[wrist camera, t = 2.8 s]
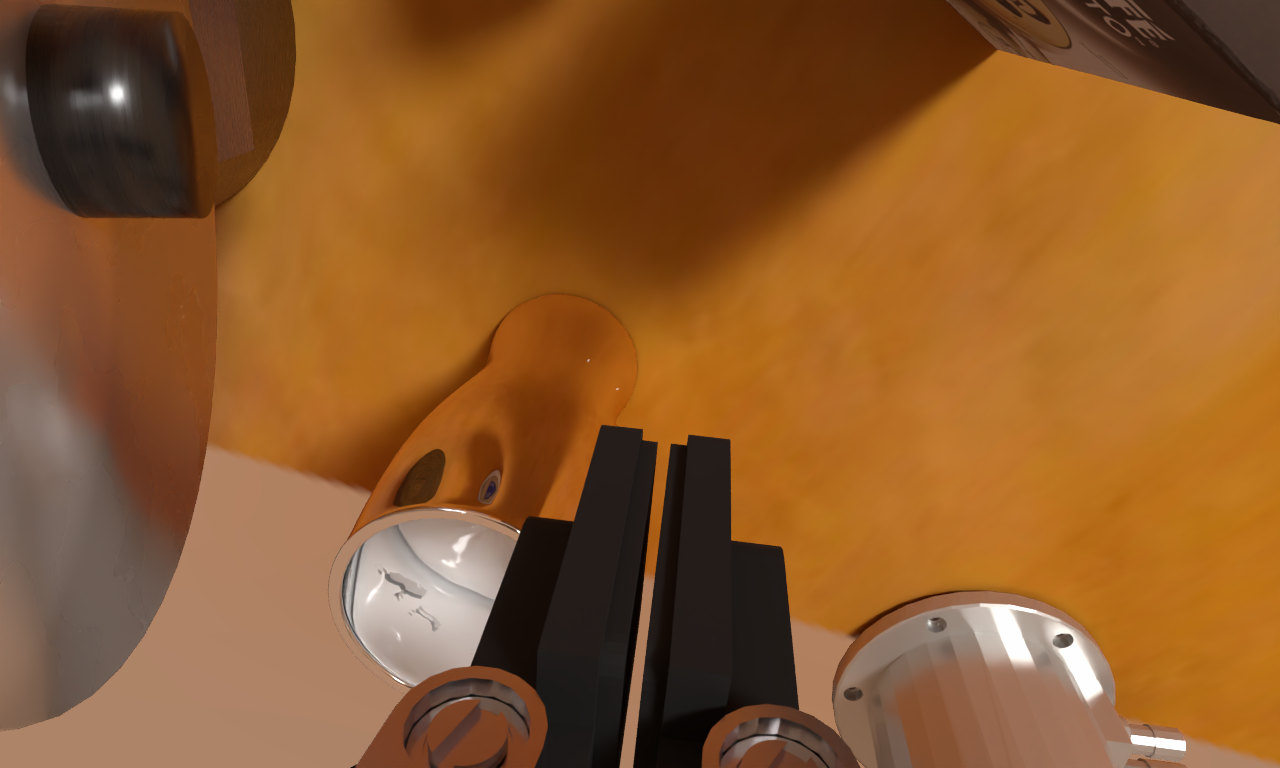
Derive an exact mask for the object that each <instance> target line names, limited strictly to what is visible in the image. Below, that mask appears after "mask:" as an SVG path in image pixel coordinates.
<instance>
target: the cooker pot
mask: <svg viewBox="0 0 1280 768" xmlns="http://www.w3.org/2000/svg"><path fill="white" fill-rule="evenodd" d="M188 3H189V9H190V14H191V20H192V26H193V32H194V34H195V36H196V39H197V41H198V44H199V47H200V50H201V54H202V57H203V61H204V64H205V68H206V72H207V77H208V81H209V87H210V92H211V98H212V104H213V111H214V119H215V127H216V139H217V185H216V194H215V200H214V208H215V207H217V206H218V205H220V204H221V203H223V202H224V201H226V200H228V199H229V198H231V197H232V196H234V195H235V194H236V193H237V192H238V191H239V190H241V189H242V188H243V187H244V186H245V185H246V184H247V183H248V182H249V181H250V180H251V179H252V178H253V177H254V176H255V174H256V173H257V172H258V171H259V169H260V168H261V167H262V165H263V164H264V163H265V162H266V160H267V159H268V157H269V155H270V153H271V151H272V149H273V148H274V146H275V144H276V142H277V140H278V138H279V136H280V133H281V131H282V128H283V125H284V122H285V120H286V117H287V114H288V110H289V106H290V101H291V96H292V91H293V86H294V75H295V62H296V44H295V24H294V17H293V11H292V5H291V0H188Z"/></svg>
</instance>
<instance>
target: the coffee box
mask: <svg viewBox="0 0 1280 768" xmlns="http://www.w3.org/2000/svg"><path fill="white" fill-rule="evenodd" d="M946 1H947V2H948V3H949V4H950V5H951V6H952V7H953V8H954V9H955V10H956V11H957V12H958V13H959V14H960V15H961V16H962V17H963V18H964V19H966V20H967V21H968V22H969V23H970V24H971V25H972V26H973V27H974V28H975V29H976V30H977V31H978V32H979V33H980V34H981V35H982V36H983V37H984V38H985V39H986V40H987V41H988V42H990V43H991V44H992V45H993V46H994V47H995V48H996V49H998V50H1001V51H1005V52H1009V53H1012V54H1016V55H1018V56H1023V57H1026V58H1031V59H1034V60H1038V61H1042V62H1046V63H1050V64H1052V65H1058V66H1062V67H1066V68H1069V69H1073V70H1077V71H1081V72H1085V73H1090V74H1094V75H1097V76H1101V77H1104V78H1108V79H1112V80H1115V81H1119V82H1123V83H1127V84H1130V85H1134V86H1138V87H1141V88H1145V89H1149V90H1153V91H1156V92H1160V93H1164V94H1167V95H1171V96H1175V97H1179V98H1182V99H1186V100H1190V101H1193V102H1197V103H1201V104H1205V105H1208V106H1212V107H1216V108H1220V109H1224V110H1227V111H1231V112H1235V113H1239V114H1243V115H1246V116H1250V117H1254V118H1258V119H1262V120H1266V121H1270V122H1274V123H1278V124H1280V0H946Z"/></svg>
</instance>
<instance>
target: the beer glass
mask: <svg viewBox="0 0 1280 768" xmlns="http://www.w3.org/2000/svg"><path fill="white" fill-rule="evenodd" d="M637 375H638V361H637V355H636V351H635V348H634V345H633V342H632V340H631V338H630V336H629V334H628V332H627V331H626V329H625V328H624V327H623V325H622V324H621V323H620V322H619V321H618V319H617V318H616V317H615V316H613V315H612V314H611V313H610V312H609V311H607V310H606V309H605V308H603V307H601V306H600V305H598V304H596V303H594V302H592V301H589V300H587V299H584V298H581V297H577V296H572V295H564V294H553V295H545V296H540V297H537V298H534V299H531V300H529V301H527V302H524V303H523V304H521V305H519V306H518V307H516V308H515V309H514V310H512V311H511V312H510V313H509V314H508V315H507V316H506V317H505V318H504V320H503V321H502V322H501V324H500V325H499V327H498V329H497V331H496V333H495V335H494V337H493V340H492V343H491V347H490V351H489V356H488V362H487V365H486V366H485V368H483V369H482V370H481V371H480V372H479V373H478V374H476V375H475V376H474V377H472V378H471V379H470V380H468V381H467V382H466V383H465V384H463V385H462V386H461V387H460V388H458V389H457V390H456V391H455V392H453V393H452V394H451V395H450V396H448V397H447V398H446V399H445V400H444V401H443V402H441V403H440V404H439V405H438V406H437V407H436V408H435V409H434V410H433V411H432V412H431V413H430V414H429V415H428V416H427V417H426V418H425V419H424V420H423V421H422V422H421V423H420V424H419V425H418V426H417V427H416V428H415V430H414V431H413V432H412V434H411V435H410V436H409V437H408V439H407V440H406V441H405V443H404V444H403V445H402V446H401V448H400V449H399V450H398V452H397V453H396V454H395V456H394V457H393V459H392V461H391V462H390V464H389V465H388V467H387V469H386V470H385V472H384V473H383V475H382V477H381V478H380V480H379V481H378V483H377V485H376V486H375V488H374V490H373V492H372V494H371V496H370V497H369V499H368V501H367V503H366V505H365V507H364V508H363V510H362V512H361V514H360V516H359V518H358V520H357V522H356V524H355V526H354V528H353V530H352V532H351V534H350V536H349V538H348V540H347V541H346V542H345V543H344V545H343V546H342V548H341V549H340V551H339V552H338V554H337V556H336V558H335V560H334V563H333V565H332V569H331V572H330V578H329V585H328V597H329V604H330V609H331V613H332V617H333V619H334V622H335V625H336V627H337V629H338V631H339V633H340V635H341V637H342V639H343V640H344V642H345V643H346V645H347V646H348V648H349V649H350V650H351V651H352V653H353V654H354V655H355V656H356V658H357V659H358V660H359V661H360V662H361V663H362V664H363V665H364V666H365V667H366V668H367V669H368V670H370V671H371V672H372V673H373V674H375V675H376V676H377V677H378V678H380V679H381V680H382V681H384V682H385V683H387V684H389V685H390V686H392V687H394V688H395V689H397V690H399V691H401V692H402V693H404V694H407V693H408V692H409V690H410V689H412V688H413V687H415V686H416V685H418V684H419V683H421V682H423V681H424V680H426V679H427V678H429V677H430V676H433V675H436V674H438V673H441V672H444V671H447V670H450V669H453V668H461V667H469V666H471V663H472V661H473V658H474V655H475V652H476V650H477V647H478V644H479V642H480V639H481V636H482V634H483V631H484V628H485V626H486V623H487V620H488V618H489V615H490V612H491V610H492V607H493V604H494V602H495V599H496V596H497V593H498V591H499V588H500V585H501V583H502V580H503V577H504V575H505V572H506V569H507V567H508V564H509V561H510V559H511V556H512V553H513V551H514V548H515V545H516V543H517V540H518V537H519V534H520V532H521V529H522V526H523V524H524V522H525V520H526V518H527V517H529V516H534V517H542V518H550V519H559V520H567V521H574V519H575V515H576V512H577V508H578V505H579V501H580V498H581V494H582V490H583V487H584V483H585V480H586V476H587V473H588V469H589V466H590V462H591V459H592V455H593V451H594V448H595V444H596V441H597V437H598V434H599V430H600V427H601V425H609V426H617V425H616V421H617V418H618V416H619V415H620V414H621V412H622V411H623V409H624V408H625V406H626V405H627V403H628V402H629V400H630V398H631V396H632V394H633V391H634V388H635V385H636V381H637Z"/></svg>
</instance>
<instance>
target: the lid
mask: <svg viewBox="0 0 1280 768" xmlns="http://www.w3.org/2000/svg"><path fill="white" fill-rule="evenodd" d="M216 185H217V139H216V127H215V119H214V111H213V104H212V98H211V92H210V87H209V81H208V77H207V72H206V68H205V64H204V61H203V57H202V54H201V50H200V47H199V44H198V41H197V39H196V36H195V34H194V32H193V26H192V20H191V14H190V9H189V3H188V0H0V731H6V730H13V729H20V728H23V727H26V726H29V725H32V724H35V723H38V722H42V721H45V720H48V719H51V718H54V717H57V716H60V715H61V714H63V713H65V712H66V711H68V710H69V709H71V708H73V707H74V706H76V705H77V704H79V703H81V702H82V701H84V700H85V699H87V698H89V697H90V696H92V695H93V694H94V693H95V692H96V691H97V690H98V689H99V688H100V687H101V686H102V685H103V684H105V683H106V682H107V681H108V680H109V679H110V678H111V677H112V676H113V675H114V674H115V673H116V672H117V671H118V670H119V669H120V668H121V667H122V665H123V664H124V662H125V661H126V660H127V658H128V657H129V656H130V654H131V653H132V651H133V650H134V649H135V647H136V646H137V645H138V643H139V642H140V640H141V639H142V638H143V636H144V635H145V633H146V631H147V629H148V627H149V625H150V624H151V622H152V620H153V618H154V616H155V615H156V613H157V611H158V609H159V607H160V605H161V604H162V601H163V599H164V597H165V594H166V592H167V590H168V587H169V585H170V582H171V580H172V578H173V575H174V573H175V570H176V568H177V565H178V562H179V559H180V556H181V553H182V550H183V547H184V544H185V540H186V537H187V534H188V531H189V528H190V524H191V520H192V515H193V512H194V507H195V504H196V500H197V495H198V491H199V486H200V481H201V475H202V470H203V465H204V459H205V454H206V447H207V440H208V432H209V425H210V417H211V409H212V398H213V386H214V375H215V358H216V336H217V251H216V227H215V209H214V200H215V194H216Z"/></svg>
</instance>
